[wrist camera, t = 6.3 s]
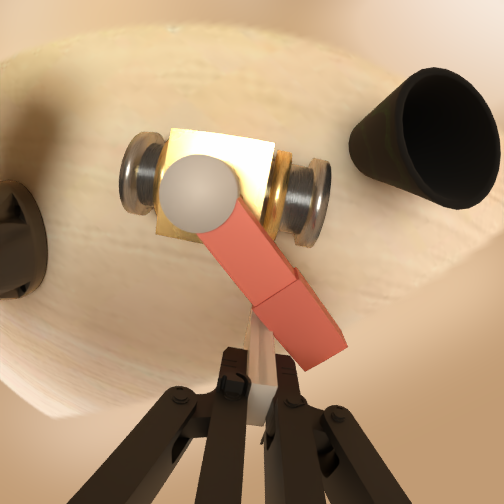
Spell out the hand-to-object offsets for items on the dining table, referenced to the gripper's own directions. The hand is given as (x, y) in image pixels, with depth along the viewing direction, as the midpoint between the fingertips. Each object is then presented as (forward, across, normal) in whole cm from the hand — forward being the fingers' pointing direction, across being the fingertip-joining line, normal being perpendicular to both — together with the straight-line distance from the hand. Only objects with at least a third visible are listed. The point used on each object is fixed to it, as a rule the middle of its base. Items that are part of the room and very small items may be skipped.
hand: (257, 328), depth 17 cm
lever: (0, -1, +4) cm, 4 cm away
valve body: (+10, -4, +8) cm, 13 cm away
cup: (+9, +8, +14) cm, 18 cm away
